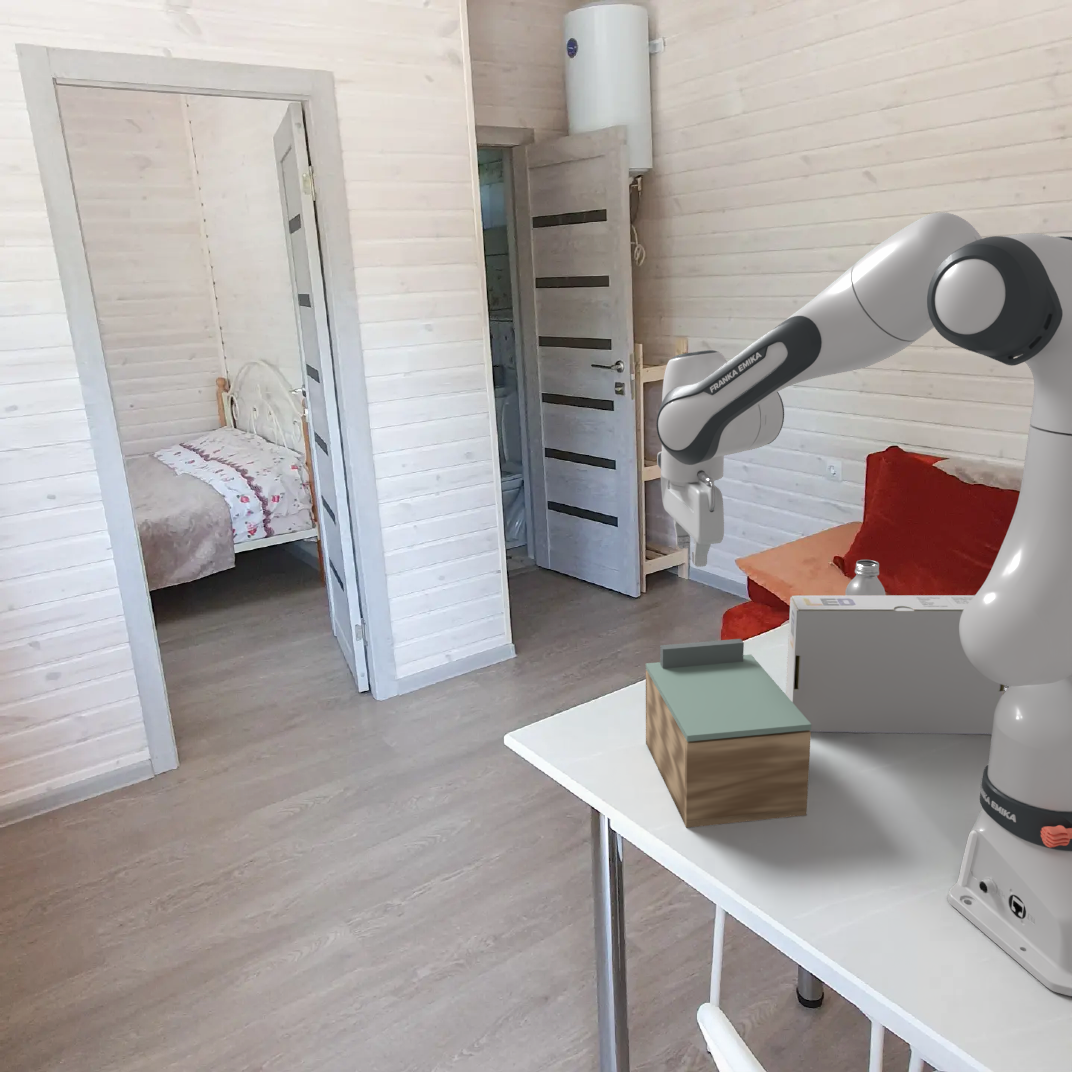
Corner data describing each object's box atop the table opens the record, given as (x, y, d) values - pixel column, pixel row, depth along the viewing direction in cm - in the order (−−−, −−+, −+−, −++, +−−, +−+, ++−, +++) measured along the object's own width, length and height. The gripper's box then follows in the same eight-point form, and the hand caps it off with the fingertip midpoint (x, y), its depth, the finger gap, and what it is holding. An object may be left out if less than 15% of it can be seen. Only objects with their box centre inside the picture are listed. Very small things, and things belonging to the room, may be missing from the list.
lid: (811, 729, 116) (812, 702, 114) (687, 741, 114) (687, 713, 113) (750, 659, 137) (751, 635, 135) (645, 668, 135) (645, 644, 134)
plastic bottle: (855, 683, 155) (862, 571, 149) (832, 667, 161) (839, 559, 156) (888, 677, 157) (897, 566, 151) (864, 662, 163) (872, 555, 157)
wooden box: (806, 815, 119) (810, 732, 116) (686, 827, 117) (687, 743, 114) (748, 733, 140) (750, 661, 137) (645, 743, 138) (645, 670, 135)
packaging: (984, 716, 143) (997, 595, 137) (999, 735, 137) (1014, 610, 131) (785, 713, 146) (790, 595, 140) (791, 732, 140) (797, 609, 134)
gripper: (737, 479, 123) (734, 577, 127) (694, 450, 142) (692, 535, 146) (691, 482, 122) (689, 580, 126) (654, 452, 141) (653, 538, 145)
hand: (690, 555), depth 136 cm, fingers open, 7 cm apart
